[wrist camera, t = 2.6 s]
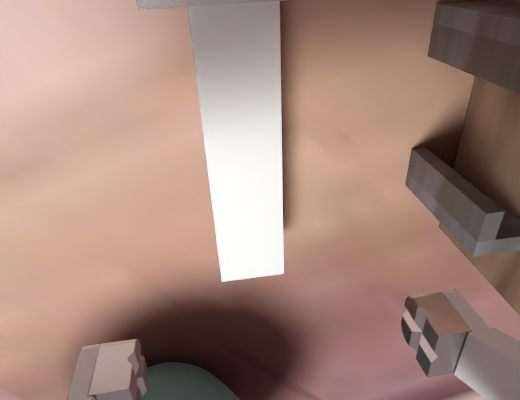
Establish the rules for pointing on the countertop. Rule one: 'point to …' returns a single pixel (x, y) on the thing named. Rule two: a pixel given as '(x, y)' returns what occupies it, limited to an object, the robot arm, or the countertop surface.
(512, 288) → the brown wooden block
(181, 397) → the teal bowl
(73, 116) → the countertop surface
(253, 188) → the white t-shaped piece
